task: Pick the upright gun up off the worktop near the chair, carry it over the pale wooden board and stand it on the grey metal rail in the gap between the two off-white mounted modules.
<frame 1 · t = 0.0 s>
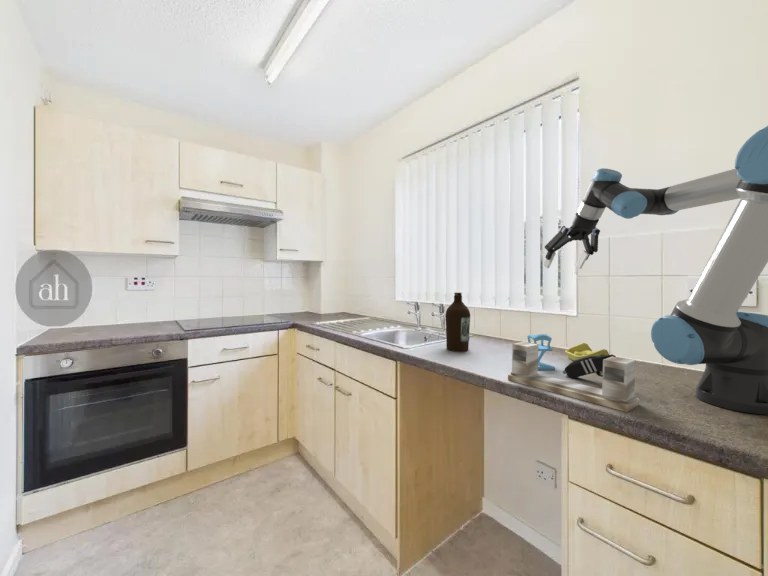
hand: (562, 266, 128), 36 cm above the worktop, tool tilted 35°, fingers open, 13 cm apart
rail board: (566, 390, 93), on the worktop
plastic component: (587, 364, 124), on the worktop
gun: (589, 382, 102), on the worktop
chair: (538, 367, 118), on the worktop
olive oil: (457, 349, 146), on the worktop
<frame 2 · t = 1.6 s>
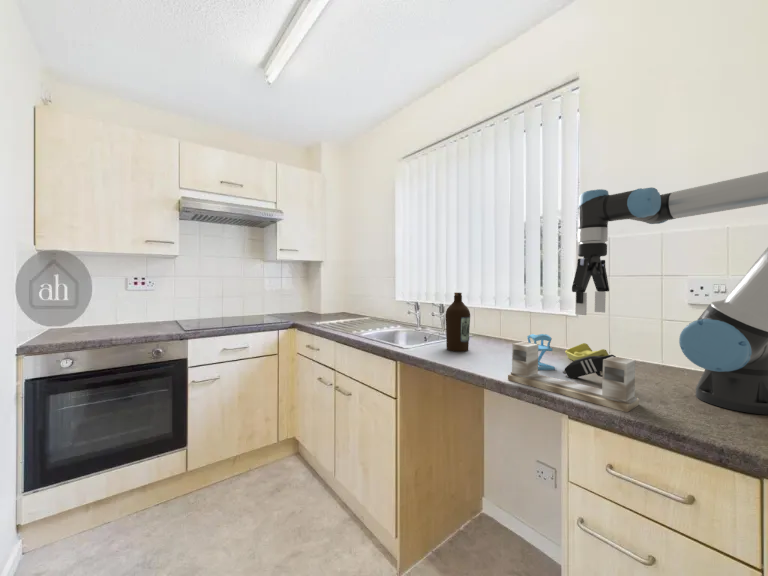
hand: (590, 313, 101), 21 cm above the worktop, tool pointing down, fingers open, 13 cm apart
nothing on the worktop moved.
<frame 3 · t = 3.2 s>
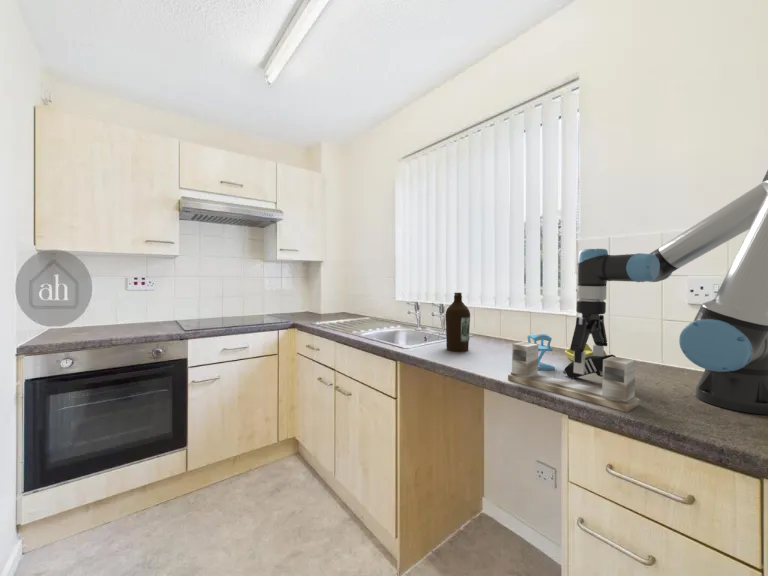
hand: (588, 369, 102), 3 cm above the worktop, tool pointing down, fingers open, 13 cm apart
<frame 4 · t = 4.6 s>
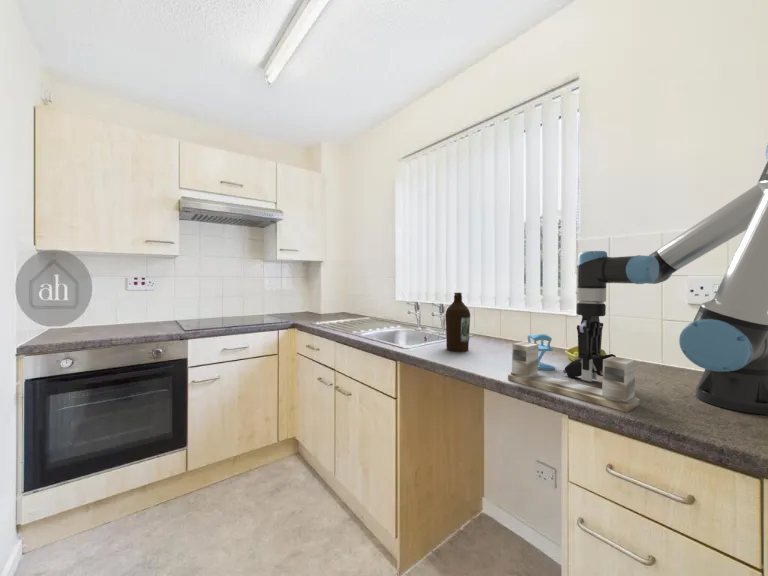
hand: (589, 379, 102), 1 cm above the worktop, tool pointing down, fingers closed on gun, 3 cm apart
gun: (589, 381, 102), on the worktop, touching gripper
everything else where it was.
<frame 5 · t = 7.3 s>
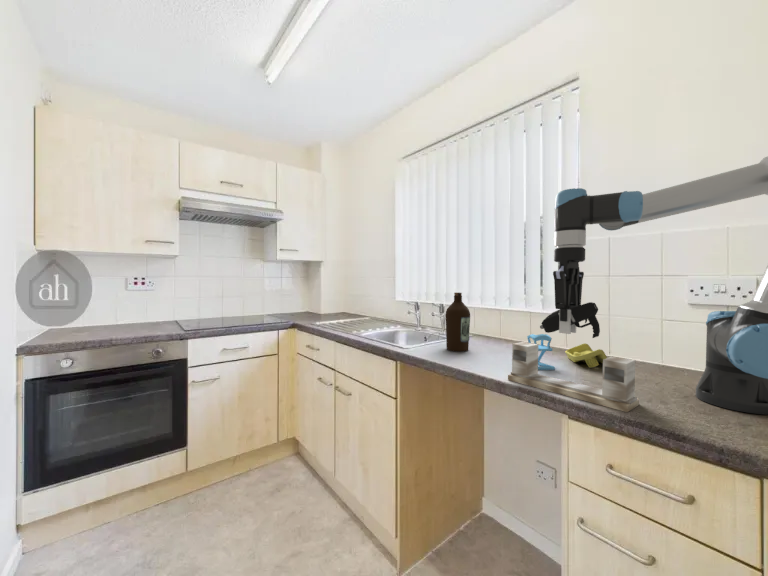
hand: (567, 332, 92), 16 cm above the worktop, tool pointing down, fingers closed on gun, 3 cm apart
gun: (567, 335, 92), point 15 cm above the worktop, touching gripper
when the fingers open (4 cm above the worktop, at t = 10.1 s): gun stays where it is, resting on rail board.
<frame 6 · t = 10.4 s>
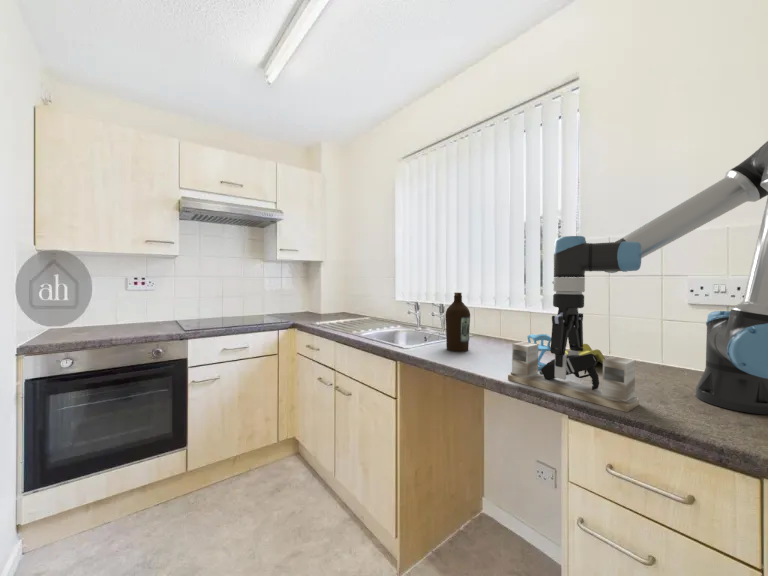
hand: (566, 375, 92), 4 cm above the worktop, tool pointing down, fingers open, 7 cm apart
gun: (566, 384, 93), point 2 cm above the worktop, touching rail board
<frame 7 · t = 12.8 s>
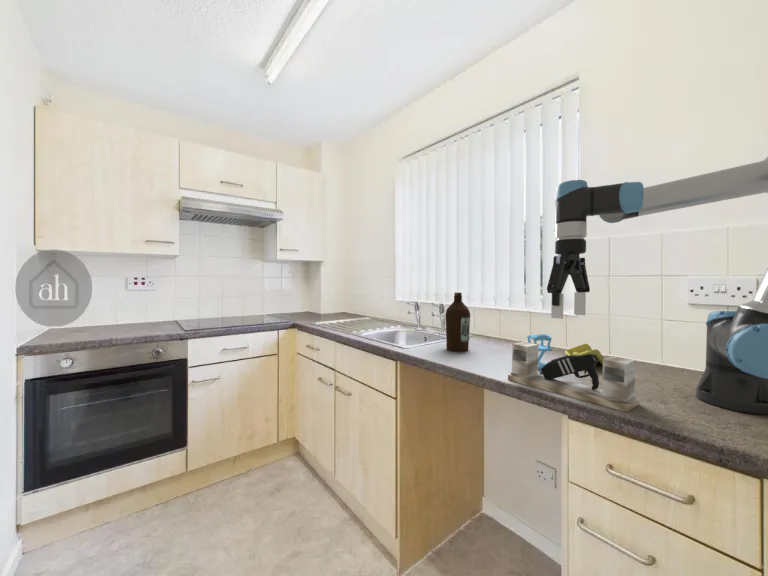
hand: (568, 316, 92), 21 cm above the worktop, tool pointing down, fingers open, 13 cm apart
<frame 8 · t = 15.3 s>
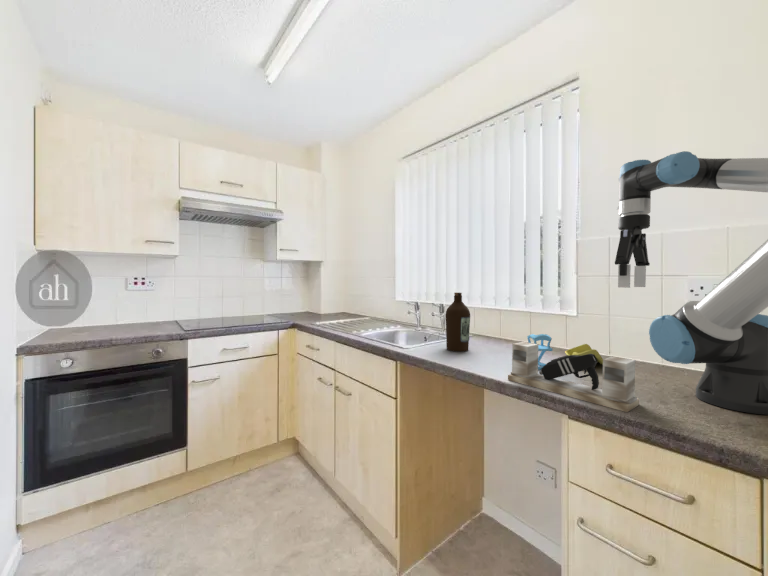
hand: (632, 287, 99), 29 cm above the worktop, tool pointing down, fingers open, 13 cm apart
at the end: gun 0.2 cm off-centre on the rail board, point 1.9 cm above the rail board's base; gun tilted 0°; the gripper is holding nothing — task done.
